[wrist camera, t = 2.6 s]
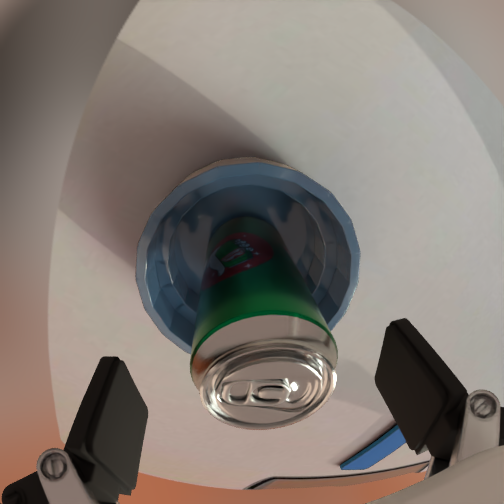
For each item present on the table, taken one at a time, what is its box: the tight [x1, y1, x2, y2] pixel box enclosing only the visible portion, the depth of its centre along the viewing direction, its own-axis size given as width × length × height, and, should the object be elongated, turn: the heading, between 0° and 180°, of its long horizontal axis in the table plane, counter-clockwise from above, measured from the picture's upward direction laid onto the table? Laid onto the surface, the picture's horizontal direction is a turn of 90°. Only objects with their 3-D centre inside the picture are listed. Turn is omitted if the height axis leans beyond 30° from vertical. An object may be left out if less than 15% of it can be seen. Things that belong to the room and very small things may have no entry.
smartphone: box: [340, 425, 406, 470], centre depth 33 cm, size 7×1×15 cm
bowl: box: [135, 157, 360, 354], centre depth 17 cm, size 12×12×5 cm
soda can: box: [190, 216, 338, 430], centre depth 14 cm, size 5×5×12 cm
